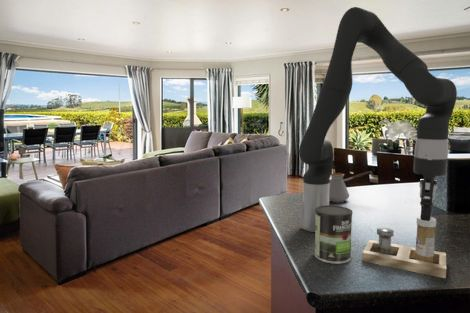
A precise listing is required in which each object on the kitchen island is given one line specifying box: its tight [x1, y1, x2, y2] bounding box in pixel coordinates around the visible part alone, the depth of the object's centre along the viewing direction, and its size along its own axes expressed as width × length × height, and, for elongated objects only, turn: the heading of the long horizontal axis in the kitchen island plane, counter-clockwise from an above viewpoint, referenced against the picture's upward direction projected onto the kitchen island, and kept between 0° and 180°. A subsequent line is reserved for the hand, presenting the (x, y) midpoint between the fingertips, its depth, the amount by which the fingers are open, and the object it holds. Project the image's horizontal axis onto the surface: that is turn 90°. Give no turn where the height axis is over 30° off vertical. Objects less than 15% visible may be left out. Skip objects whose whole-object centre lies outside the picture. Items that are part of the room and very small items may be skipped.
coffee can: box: [314, 204, 353, 265], centre depth 96 cm, size 10×10×14 cm
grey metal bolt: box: [376, 227, 395, 255], centre depth 95 cm, size 4×4×8 cm
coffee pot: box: [329, 170, 373, 203], centre depth 156 cm, size 21×12×15 cm, turn 71°
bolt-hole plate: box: [361, 239, 447, 279], centre depth 92 cm, size 20×11×2 cm, turn 58°
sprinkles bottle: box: [414, 215, 437, 263], centre depth 89 cm, size 5×5×13 cm
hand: (426, 215), depth 88 cm, fingers open, 8 cm apart
